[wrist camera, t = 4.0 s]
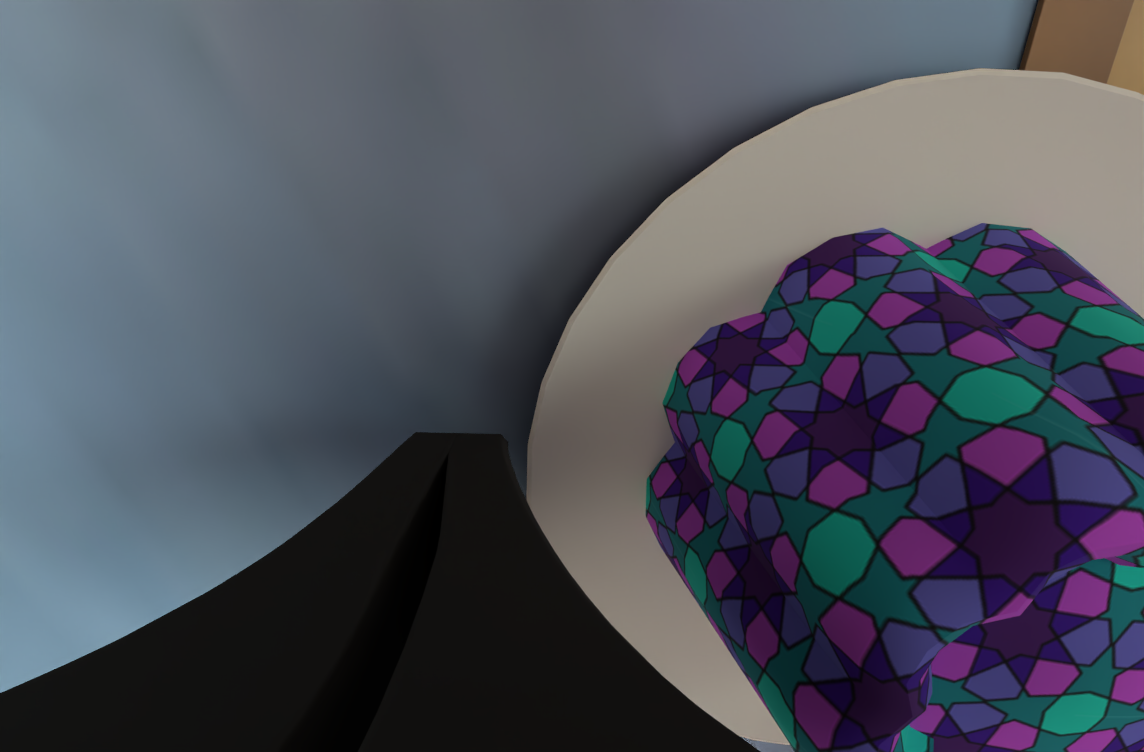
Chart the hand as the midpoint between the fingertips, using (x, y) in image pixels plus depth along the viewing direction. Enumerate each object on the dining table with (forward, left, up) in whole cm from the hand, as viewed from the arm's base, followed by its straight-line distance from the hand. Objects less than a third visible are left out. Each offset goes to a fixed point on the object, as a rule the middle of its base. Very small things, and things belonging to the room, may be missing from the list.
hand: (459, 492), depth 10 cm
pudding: (-7, 0, -1) cm, 7 cm away
